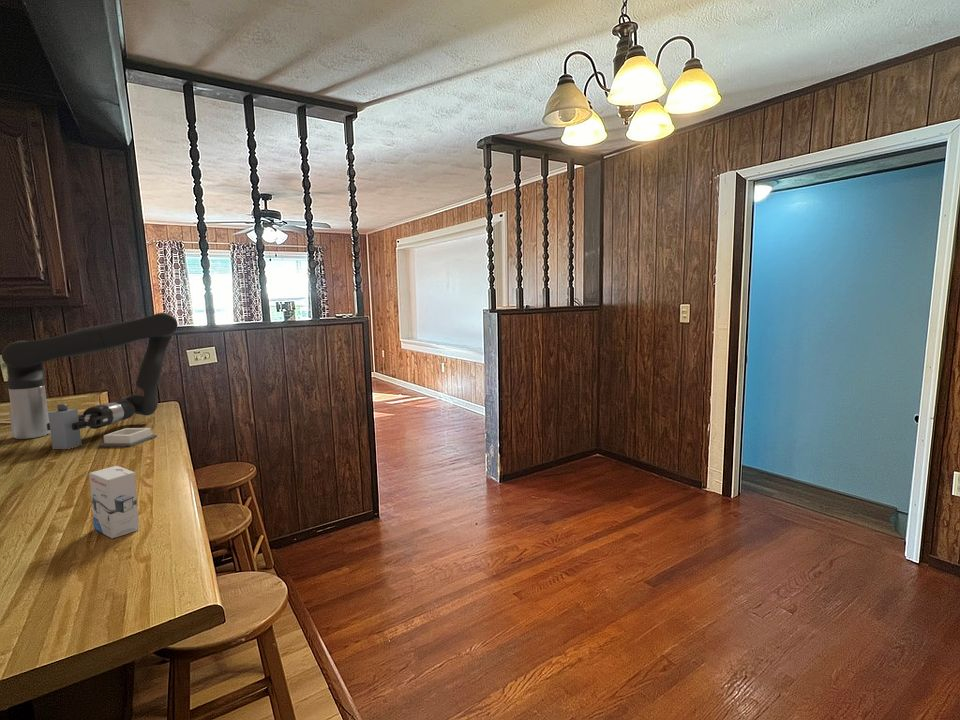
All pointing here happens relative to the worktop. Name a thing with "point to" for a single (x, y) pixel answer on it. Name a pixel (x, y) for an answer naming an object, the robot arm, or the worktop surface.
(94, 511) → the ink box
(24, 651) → the worktop surface
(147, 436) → the socket block
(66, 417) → the grey-blue square bottle
